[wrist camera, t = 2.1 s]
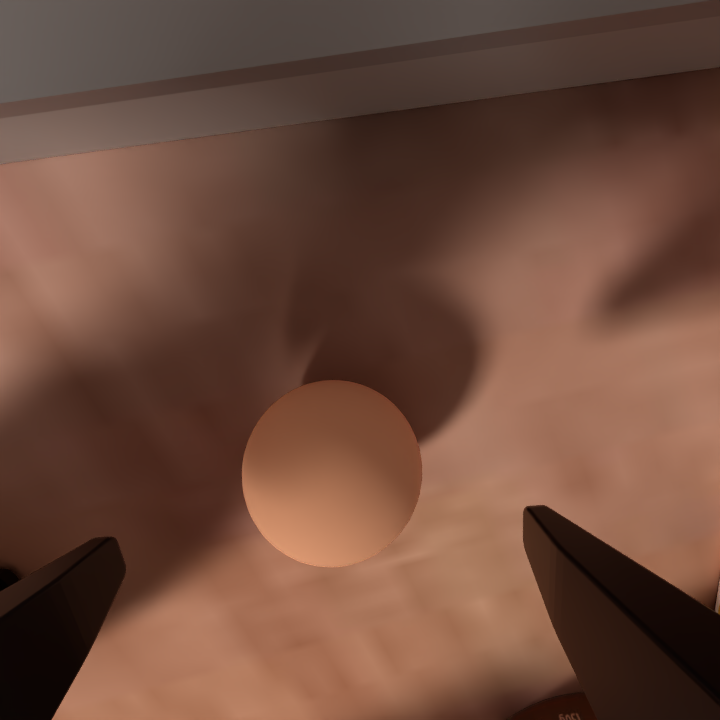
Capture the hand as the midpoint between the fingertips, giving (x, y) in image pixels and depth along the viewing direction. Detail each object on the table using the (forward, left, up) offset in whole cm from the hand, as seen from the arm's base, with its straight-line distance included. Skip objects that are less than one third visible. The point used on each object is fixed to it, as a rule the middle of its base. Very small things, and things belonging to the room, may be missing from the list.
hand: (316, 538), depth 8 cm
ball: (0, 0, -3) cm, 3 cm away
